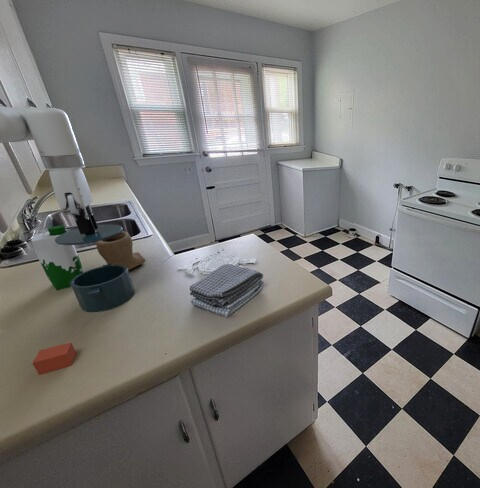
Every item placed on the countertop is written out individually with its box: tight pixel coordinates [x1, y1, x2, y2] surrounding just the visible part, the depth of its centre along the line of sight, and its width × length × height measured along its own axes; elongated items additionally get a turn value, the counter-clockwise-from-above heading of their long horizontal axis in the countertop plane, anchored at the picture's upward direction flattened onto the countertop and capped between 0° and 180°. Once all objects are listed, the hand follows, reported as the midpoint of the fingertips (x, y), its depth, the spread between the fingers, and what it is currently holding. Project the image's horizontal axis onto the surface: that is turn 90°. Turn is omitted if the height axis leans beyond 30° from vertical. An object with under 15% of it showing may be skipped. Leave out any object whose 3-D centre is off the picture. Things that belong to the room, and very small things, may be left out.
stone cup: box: [95, 230, 147, 271], centre depth 100 cm, size 15×12×15 cm
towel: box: [189, 264, 265, 318], centre depth 84 cm, size 15×18×8 cm
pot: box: [70, 263, 136, 313], centre depth 83 cm, size 14×19×8 cm
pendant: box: [181, 250, 257, 276], centre depth 105 cm, size 21×28×1 cm
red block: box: [31, 341, 77, 375], centre depth 61 cm, size 6×4×4 cm
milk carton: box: [31, 224, 84, 291], centre depth 90 cm, size 9×9×20 cm
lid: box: [55, 213, 124, 246], centre depth 74 cm, size 15×15×7 cm
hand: (89, 230), depth 75 cm, fingers closed on lid, 2 cm apart
